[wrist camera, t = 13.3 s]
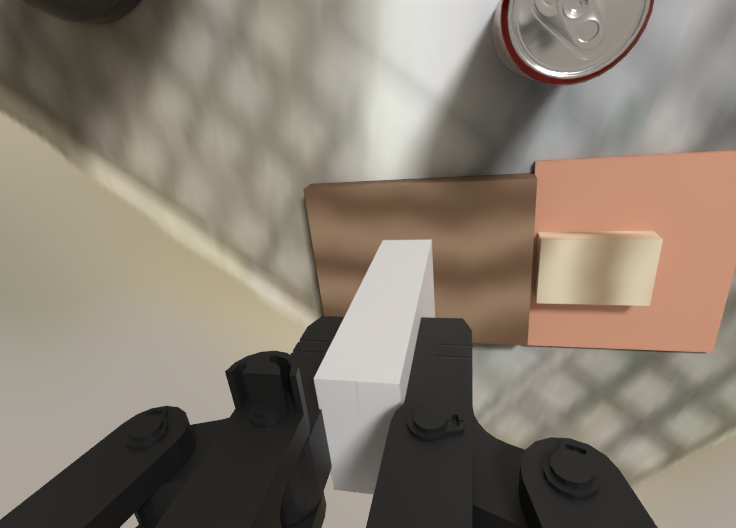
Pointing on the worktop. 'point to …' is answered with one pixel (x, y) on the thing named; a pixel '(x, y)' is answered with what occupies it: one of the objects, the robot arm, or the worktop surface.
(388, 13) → the worktop surface
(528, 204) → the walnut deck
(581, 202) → the terracotta mat
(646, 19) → the soda can
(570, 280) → the birch tile
